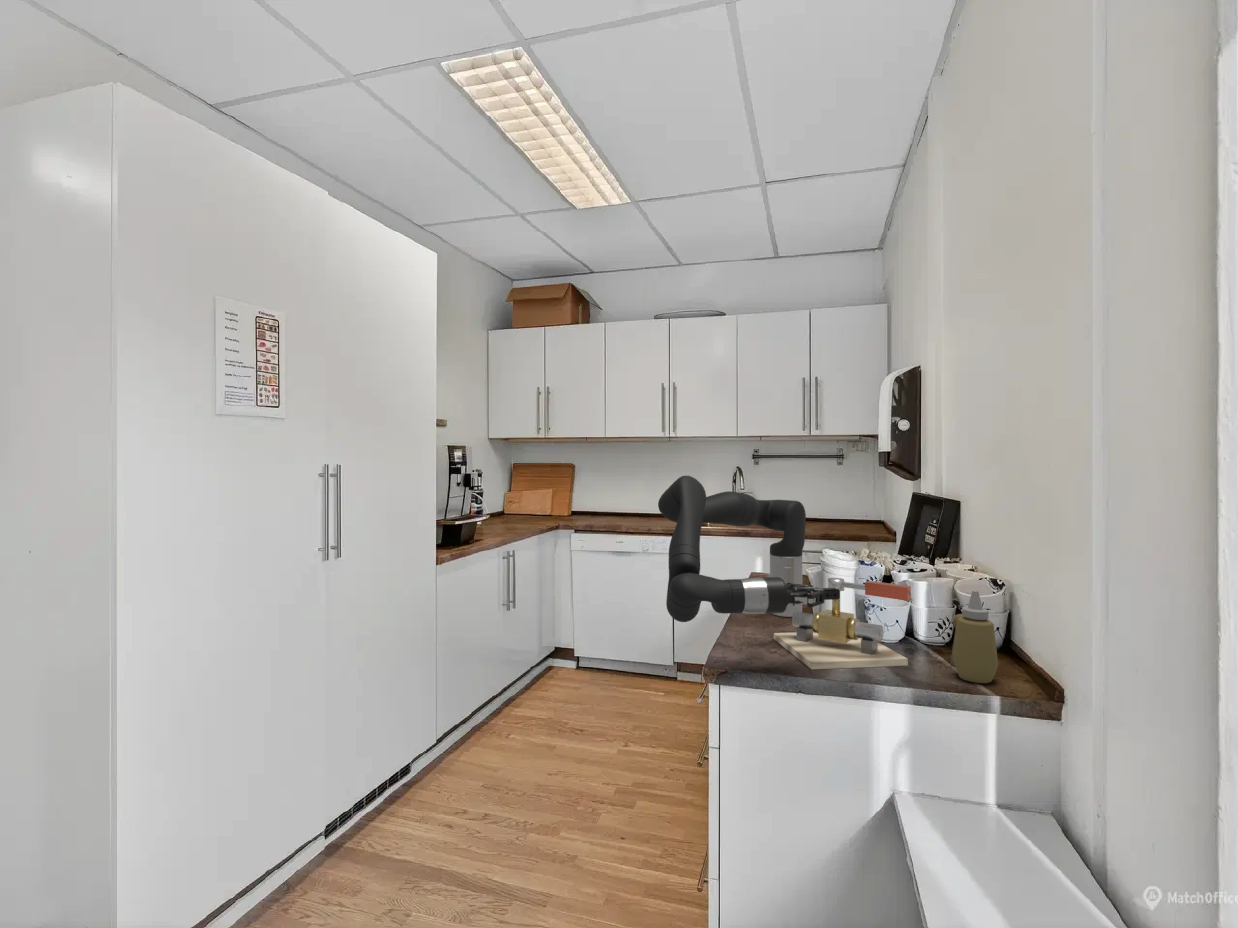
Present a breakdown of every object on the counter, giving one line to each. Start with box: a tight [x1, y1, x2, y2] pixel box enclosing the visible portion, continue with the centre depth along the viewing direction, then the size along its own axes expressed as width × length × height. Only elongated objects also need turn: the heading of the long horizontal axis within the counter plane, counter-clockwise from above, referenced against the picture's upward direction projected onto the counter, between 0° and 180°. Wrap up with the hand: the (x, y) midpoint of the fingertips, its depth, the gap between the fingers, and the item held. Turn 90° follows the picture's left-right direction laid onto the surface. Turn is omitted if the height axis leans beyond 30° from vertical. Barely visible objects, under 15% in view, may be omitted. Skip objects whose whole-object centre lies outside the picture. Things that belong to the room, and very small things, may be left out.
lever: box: [827, 577, 912, 602], centre depth 135 cm, size 18×4×3 cm, turn 49°
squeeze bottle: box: [953, 590, 999, 684], centre depth 122 cm, size 8×8×18 cm
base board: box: [773, 631, 909, 670], centre depth 140 cm, size 22×22×2 cm
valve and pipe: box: [791, 597, 884, 655], centre depth 140 cm, size 20×6×13 cm, turn 52°
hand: (838, 593), depth 128 cm, fingers closed
